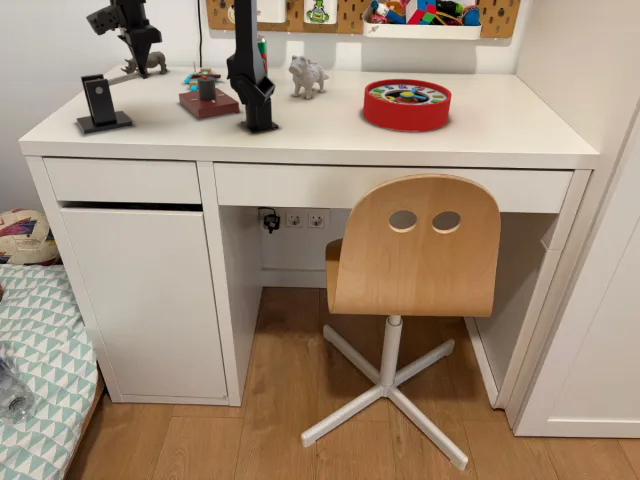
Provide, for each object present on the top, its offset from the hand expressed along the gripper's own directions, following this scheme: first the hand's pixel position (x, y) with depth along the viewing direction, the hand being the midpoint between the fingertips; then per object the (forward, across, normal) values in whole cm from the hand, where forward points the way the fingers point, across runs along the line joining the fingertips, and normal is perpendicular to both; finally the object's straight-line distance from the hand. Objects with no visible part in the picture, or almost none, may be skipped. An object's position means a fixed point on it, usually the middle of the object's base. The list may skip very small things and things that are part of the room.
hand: (141, 70), depth 107 cm
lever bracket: (+10, 0, -10) cm, 15 cm away
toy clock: (+11, +29, +52) cm, 61 cm away
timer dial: (+8, +1, +14) cm, 16 cm away
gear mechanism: (+11, -20, +21) cm, 31 cm away
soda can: (+11, -12, +34) cm, 38 cm away
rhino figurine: (+11, -34, +9) cm, 37 cm away
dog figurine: (+11, +4, +40) cm, 42 cm away
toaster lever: (+3, 0, -5) cm, 6 cm away
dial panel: (+10, +1, +14) cm, 18 cm away
